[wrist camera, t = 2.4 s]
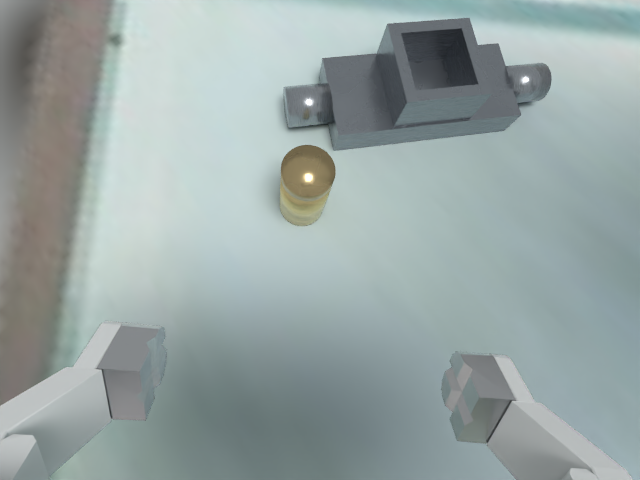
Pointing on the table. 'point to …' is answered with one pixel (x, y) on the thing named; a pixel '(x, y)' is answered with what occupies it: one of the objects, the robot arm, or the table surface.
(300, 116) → the manifold
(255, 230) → the table surface
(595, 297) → the table surface
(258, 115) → the table surface
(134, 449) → the table surface
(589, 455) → the robot arm
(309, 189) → the brass cylinder
